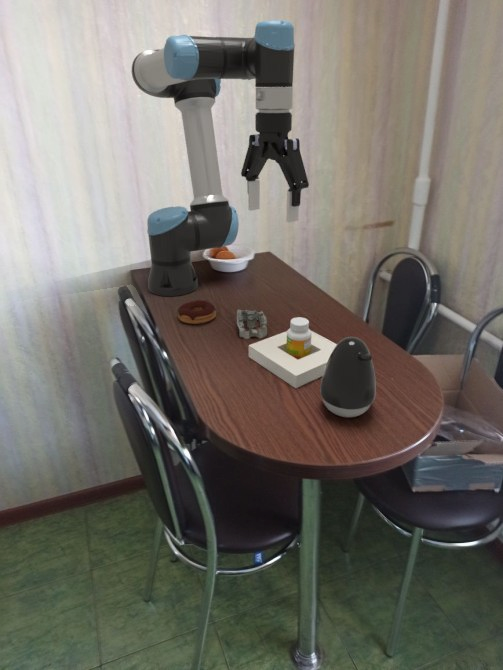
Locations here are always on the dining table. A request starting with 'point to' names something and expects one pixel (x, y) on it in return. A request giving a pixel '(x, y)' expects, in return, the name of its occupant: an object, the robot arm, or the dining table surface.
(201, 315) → the donut
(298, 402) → the dining table surface
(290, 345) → the supplement bottle
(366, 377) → the pump dispenser
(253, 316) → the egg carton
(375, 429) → the dining table surface
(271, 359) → the socket holder
